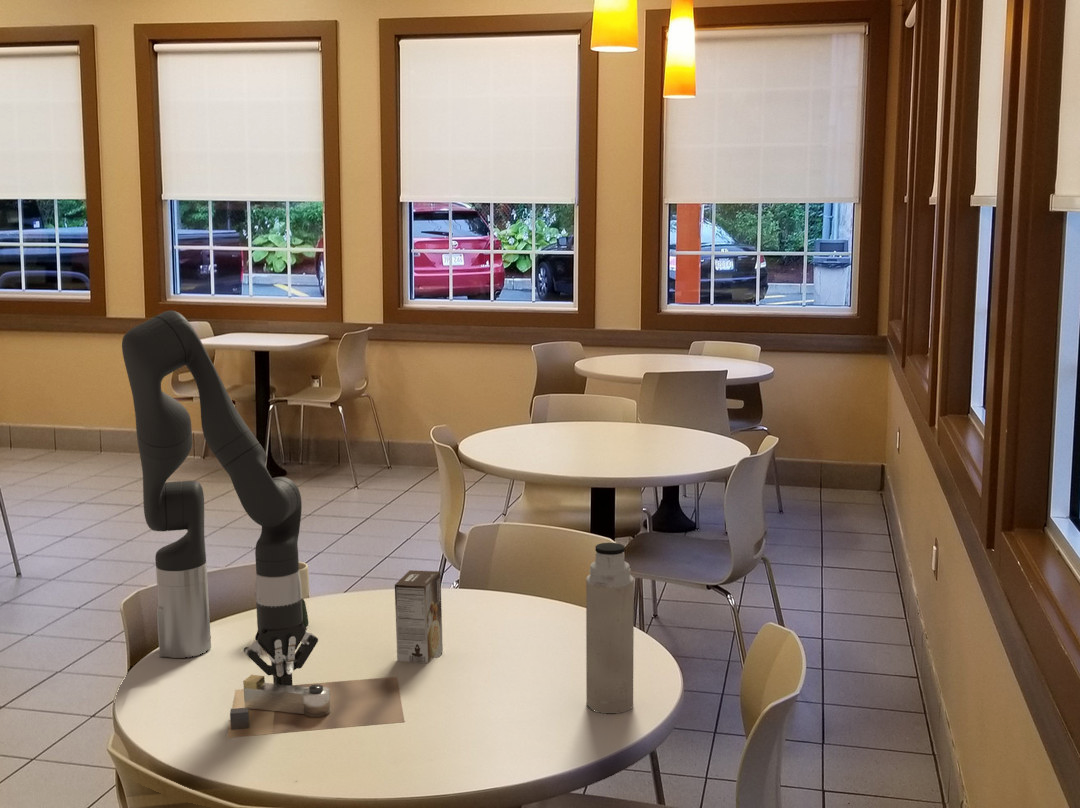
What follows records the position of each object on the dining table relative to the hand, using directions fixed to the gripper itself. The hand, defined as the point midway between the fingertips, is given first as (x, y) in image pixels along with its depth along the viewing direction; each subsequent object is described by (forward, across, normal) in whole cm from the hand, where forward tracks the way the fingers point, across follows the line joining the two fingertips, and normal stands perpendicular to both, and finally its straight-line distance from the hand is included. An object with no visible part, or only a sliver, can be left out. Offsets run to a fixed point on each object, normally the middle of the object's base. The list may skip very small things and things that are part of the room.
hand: (283, 694), depth 196 cm
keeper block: (+1, -10, -6) cm, 12 cm away
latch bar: (+1, -1, -4) cm, 5 cm away
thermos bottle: (+2, +46, -31) cm, 56 cm away
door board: (+2, +4, -5) cm, 7 cm away
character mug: (+3, +16, +35) cm, 39 cm away
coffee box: (+2, +29, +6) cm, 30 cm away
